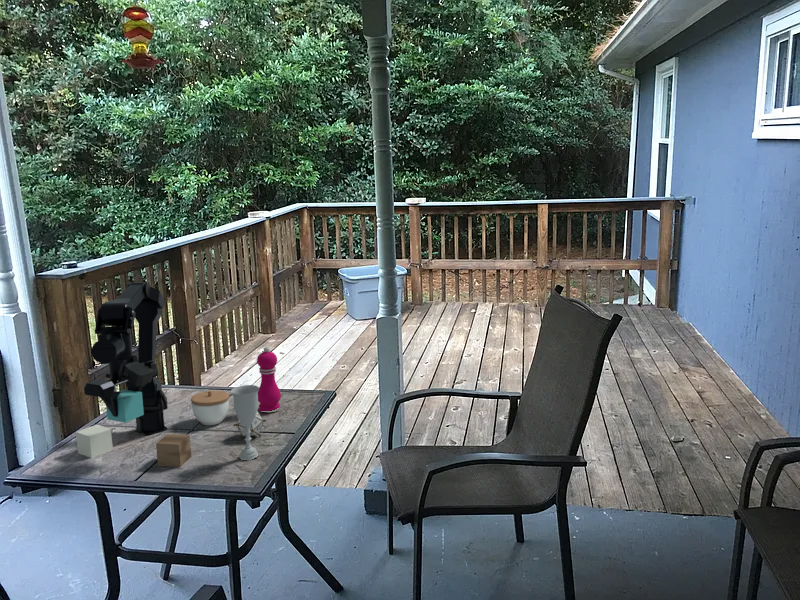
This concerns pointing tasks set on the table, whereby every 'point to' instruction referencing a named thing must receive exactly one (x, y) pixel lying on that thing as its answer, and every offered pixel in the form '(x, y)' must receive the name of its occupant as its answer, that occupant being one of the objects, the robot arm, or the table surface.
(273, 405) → the pepper mill
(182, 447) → the walnut block
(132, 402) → the teal block
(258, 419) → the game die
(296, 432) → the table surface
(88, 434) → the cream block
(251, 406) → the chalice
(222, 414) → the lidded jar
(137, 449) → the table surface
